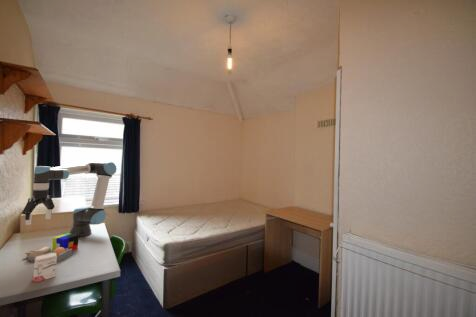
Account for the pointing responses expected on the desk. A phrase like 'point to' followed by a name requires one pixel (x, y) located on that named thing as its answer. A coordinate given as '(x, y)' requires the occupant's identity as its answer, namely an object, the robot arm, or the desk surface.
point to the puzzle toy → (65, 242)
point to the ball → (59, 250)
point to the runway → (47, 251)
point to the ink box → (45, 267)
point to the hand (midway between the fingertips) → (38, 221)
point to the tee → (29, 253)
